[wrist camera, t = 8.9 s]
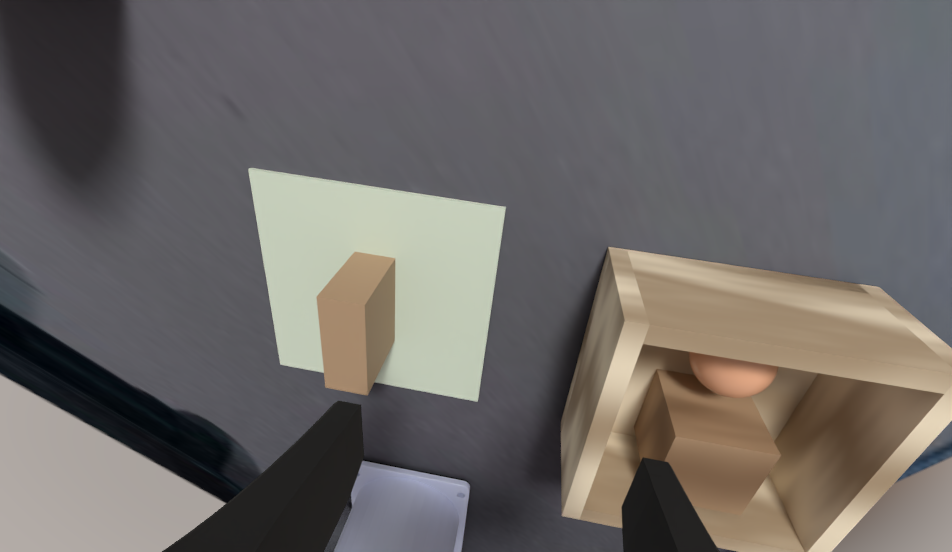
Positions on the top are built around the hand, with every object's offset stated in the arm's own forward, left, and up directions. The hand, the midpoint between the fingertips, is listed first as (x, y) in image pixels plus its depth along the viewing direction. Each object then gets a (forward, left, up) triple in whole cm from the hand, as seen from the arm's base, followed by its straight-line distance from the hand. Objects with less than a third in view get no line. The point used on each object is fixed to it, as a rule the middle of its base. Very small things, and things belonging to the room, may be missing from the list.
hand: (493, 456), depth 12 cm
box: (-4, -9, -10) cm, 14 cm away
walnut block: (-6, -9, -10) cm, 15 cm away
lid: (-3, +7, -11) cm, 13 cm away
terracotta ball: (-2, -9, -10) cm, 13 cm away
